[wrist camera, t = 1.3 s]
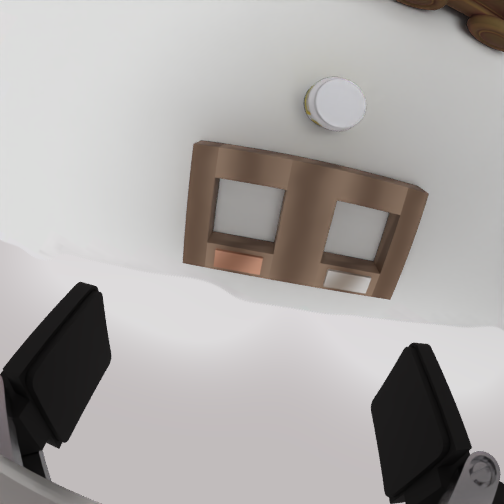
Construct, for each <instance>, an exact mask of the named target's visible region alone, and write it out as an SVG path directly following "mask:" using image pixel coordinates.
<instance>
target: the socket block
mask: <svg viewBox="0 0 504 504" xmlns="http://www.w3.org/2000/svg"><path fill="white" fill-rule="evenodd" d="M220 178H222V179H228V180H234V181H240V182H246V183H251V184H257V185H263V186H268V187H274V188H279V189H284V190H285V193H284V198H283V203H282V208H281V212H280V217H279V222H278V227H277V232H276V237H275V242H268V241H263V240H257V239H252V238H246V237H241V236H235V235H230V234H224V233H219V232H213V227H214V219H215V211H216V203H217V195H218V187H219V180H220ZM428 195H429V194H428V193H427V192H426V191H424V190H423V189H421V188H420V187H418V186H415V185H412V184H409V183H405V182H402V181H398V180H395V179H391V178H387V177H384V176H380V175H376V174H372V173H369V172H365V171H361V170H357V169H353V168H348V167H344V166H340V165H336V164H331V163H327V162H322V161H318V160H313V159H308V158H304V157H299V156H294V155H289V154H283V153H278V152H273V151H267V150H261V149H255V148H249V147H243V146H237V145H230V144H223V143H216V142H209V141H199V142H197V143H195V144H194V145H193V153H192V162H191V171H190V181H189V191H188V201H187V213H186V225H185V238H184V252H183V263H186V264H191V265H196V266H202V267H207V268H212V269H217V270H223V271H228V272H233V273H239V274H244V275H249V276H255V277H260V278H266V279H271V280H277V281H282V282H288V283H294V284H299V285H305V286H311V287H317V288H323V289H328V290H334V291H340V292H346V293H352V294H358V295H364V296H371V297H377V298H383V299H389V300H390V299H391V297H392V294H393V292H394V289H395V287H396V285H397V282H398V280H399V277H400V275H401V272H402V270H403V267H404V265H405V262H406V259H407V257H408V254H409V251H410V249H411V246H412V243H413V240H414V237H415V235H416V232H417V229H418V226H419V223H420V220H421V217H422V214H423V211H424V208H425V204H426V201H427V198H428ZM337 200H338V201H342V202H347V203H351V204H356V205H360V206H365V207H369V208H373V209H377V210H381V211H385V212H389V217H388V220H387V223H386V226H385V229H384V232H383V235H382V239H381V242H380V245H379V248H378V250H377V253H376V256H375V259H374V261H368V260H363V259H358V258H353V257H348V256H343V255H337V254H332V253H327V252H323V251H324V247H325V244H326V240H327V237H328V233H329V229H330V225H331V222H332V218H333V214H334V210H335V206H336V202H337Z"/></svg>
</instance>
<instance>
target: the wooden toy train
mask: <svg viewBox="0 0 504 504" xmlns="http://www.w3.org/2000/svg"><path fill="white" fill-rule="evenodd" d="M396 1H398V2H400V3H402V4H405V5H408V6H411V7H414V8H418V9H424V10H437V9H440V8H443V7H444V6H445V5H448V6H450V7H452V8H454V9H455V10H457V11H459V12H461V13H463V14H465V15H466V16H468V17H470V18H469V19H468V21H467V27H468V29H469V31H470V33H471V34H472V35H473V36H474V37H475V38H476V39H477V40H478V41H480V42H481V43H483V44H485V45H487V46H489V47H491V48H494V49H496V50H500V51H503V52H504V0H396Z"/></svg>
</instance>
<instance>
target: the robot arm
mask: <svg viewBox="0 0 504 504" xmlns="http://www.w3.org/2000/svg"><path fill="white" fill-rule="evenodd" d="M110 361H111V350H110V345H109V338H108V333H107V326H106V319H105V311H104V304H103V296H102V293H101V292H99V291H98V288H97V287H96V286H94V285H90V284H86V283H83V282H79V283H77V284H76V285H75V286H74V287H73V288H72V289H71V290H70V291H69V293H68V294H67V295H66V296H65V297H64V298H63V299H62V300H61V301H60V302H59V303H58V304H57V306H56V307H55V308H54V309H53V310H52V311H51V312H50V313H49V314H48V316H47V317H46V318H45V319H44V320H43V321H42V322H41V323H40V325H39V326H38V327H37V328H36V329H35V330H34V331H33V333H32V334H31V335H30V336H29V337H28V338H27V340H26V341H25V342H24V343H23V345H22V346H21V347H20V348H19V349H18V351H17V352H16V353H15V354H14V355H13V357H12V358H11V359H10V360H9V362H8V363H7V364H6V366H5V367H4V368H3V371H2V373H1V374H0V504H101V503H99V502H96V501H94V500H91V499H89V498H86V497H84V496H82V495H79V494H77V493H75V492H73V491H70V490H68V489H66V488H64V487H62V486H59V485H57V484H55V483H53V482H52V481H51V478H50V475H49V472H48V468H47V465H46V462H45V458H44V454H43V451H42V450H43V448H44V446H45V444H46V443H48V444H50V445H52V446H55V447H57V448H60V446H61V444H62V442H64V443H65V442H67V441H68V440H69V438H70V436H71V434H72V432H73V430H74V428H75V426H76V424H77V423H78V421H79V419H80V417H81V415H82V413H83V411H84V409H85V407H86V405H87V404H88V402H89V400H90V398H91V396H92V395H93V393H94V391H95V389H96V387H97V385H98V384H99V382H100V380H101V378H102V376H103V375H104V373H105V371H106V369H107V368H108V366H109V364H110ZM371 413H372V418H373V423H374V428H375V434H376V440H377V445H378V451H379V457H380V464H381V470H382V476H383V484H384V491H385V494H386V496H388V497H389V500H390V504H393V503H402V502H406V504H504V484H503V483H502V482H500V481H499V480H500V468H499V465H498V463H497V461H496V460H495V458H494V457H493V456H491V455H490V454H489V453H486V452H483V451H477V452H474V453H472V454H471V455H470V453H469V450H470V449H471V448H472V446H471V444H470V441H469V438H468V435H467V432H466V430H465V427H464V424H463V421H462V419H461V416H460V414H459V411H458V408H457V406H456V403H455V401H454V399H453V396H452V394H451V391H450V389H449V386H448V384H447V382H446V379H445V377H444V375H443V373H442V370H441V368H440V366H439V364H438V361H437V360H436V357H435V355H434V353H433V351H432V348H431V347H430V345H428V344H422V343H412V344H410V345H409V347H406V348H405V349H404V350H403V352H402V354H401V355H400V357H399V359H398V361H397V362H396V364H395V366H394V367H393V369H392V371H391V372H390V374H389V376H388V377H387V379H386V380H385V382H384V384H383V385H382V387H381V388H380V390H379V391H378V393H377V395H376V396H375V398H374V399H373V401H372V404H371Z"/></svg>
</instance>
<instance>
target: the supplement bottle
mask: <svg viewBox="0 0 504 504" xmlns="http://www.w3.org/2000/svg"><path fill="white" fill-rule="evenodd" d="M304 108H305V112H306V114H307V115H308V117H309V118H310V119H311V120H312V121H313V122H314V123H316V124H317V125H319V126H322V127H324V128H326V129H328V130H332V131H344V130H347V129H349V128H351V127H353V126H354V125H356V124H357V123H359V122H360V121H361V119H362V118H363V116H364V114H365V112H366V98H365V95H364V93H363V92H362V90H361V89H360V88H359V87H358V86H357V85H356V84H355V83H353V82H352V81H349V80H347V79H344V78H341V77H327V78H324V79H322V80H320V81H318V82H317V83H316V84H314V85H313V86H312V87H311V88H310V89H309V90H308V91H307V93H306V95H305V98H304Z"/></svg>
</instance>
